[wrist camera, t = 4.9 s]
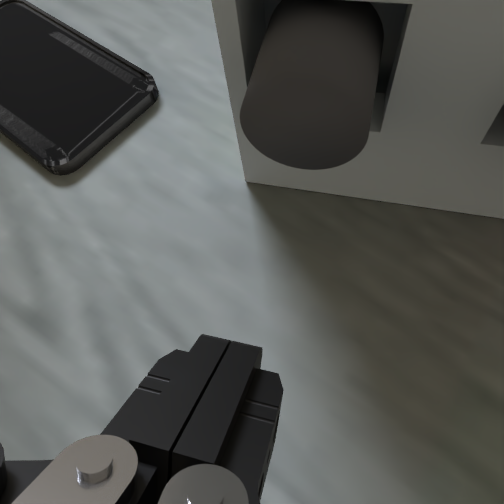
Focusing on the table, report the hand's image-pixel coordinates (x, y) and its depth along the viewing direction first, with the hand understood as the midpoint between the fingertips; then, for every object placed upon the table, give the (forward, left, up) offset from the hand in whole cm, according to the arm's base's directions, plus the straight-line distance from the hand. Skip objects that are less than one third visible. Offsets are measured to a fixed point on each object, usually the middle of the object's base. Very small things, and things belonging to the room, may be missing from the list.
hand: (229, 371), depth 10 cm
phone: (-12, +20, -7) cm, 24 cm away
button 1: (+3, +9, -2) cm, 10 cm away
